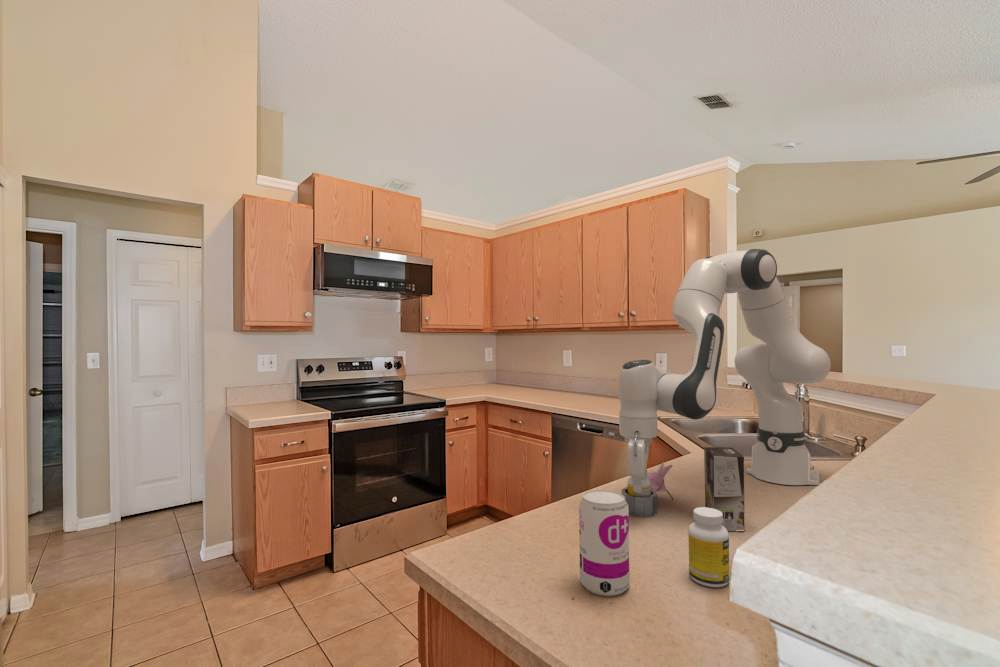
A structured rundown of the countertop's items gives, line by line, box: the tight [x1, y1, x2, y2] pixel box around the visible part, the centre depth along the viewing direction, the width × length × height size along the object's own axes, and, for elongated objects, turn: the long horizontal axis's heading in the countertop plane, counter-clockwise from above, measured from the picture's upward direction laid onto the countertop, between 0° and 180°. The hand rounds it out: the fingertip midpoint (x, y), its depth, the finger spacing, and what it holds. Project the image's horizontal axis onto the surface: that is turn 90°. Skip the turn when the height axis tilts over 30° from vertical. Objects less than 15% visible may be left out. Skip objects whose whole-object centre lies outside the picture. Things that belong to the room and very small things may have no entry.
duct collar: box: [621, 486, 658, 518], centre depth 114 cm, size 8×8×4 cm
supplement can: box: [578, 489, 630, 597], centre depth 81 cm, size 8×8×15 cm
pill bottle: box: [687, 506, 730, 588], centre depth 82 cm, size 6×6×12 cm
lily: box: [647, 461, 674, 501], centre depth 121 cm, size 12×12×10 cm
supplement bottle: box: [627, 468, 651, 497], centre depth 115 cm, size 5×5×10 cm
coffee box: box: [703, 446, 745, 532], centre depth 106 cm, size 9×6×16 cm
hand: (639, 485), depth 114 cm, fingers open, 8 cm apart
